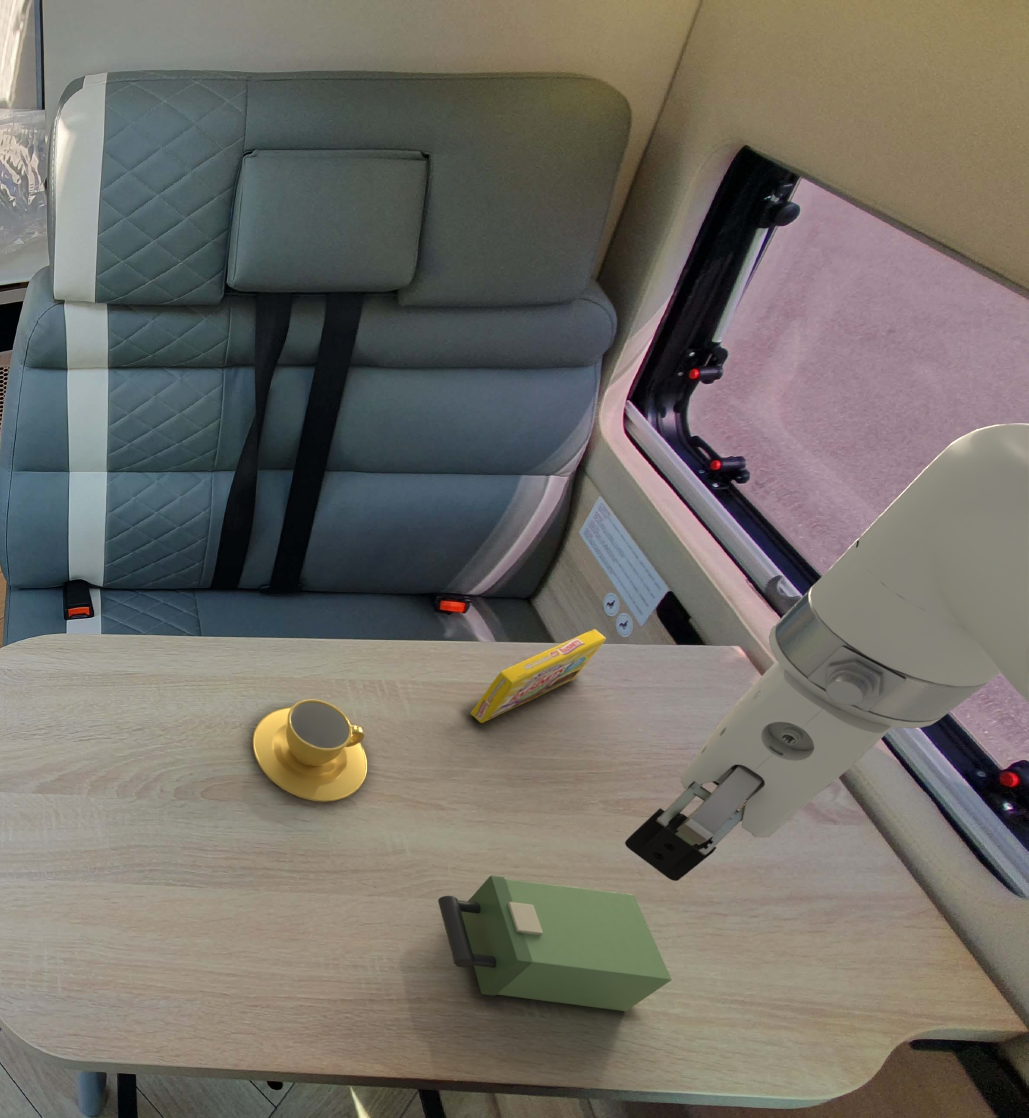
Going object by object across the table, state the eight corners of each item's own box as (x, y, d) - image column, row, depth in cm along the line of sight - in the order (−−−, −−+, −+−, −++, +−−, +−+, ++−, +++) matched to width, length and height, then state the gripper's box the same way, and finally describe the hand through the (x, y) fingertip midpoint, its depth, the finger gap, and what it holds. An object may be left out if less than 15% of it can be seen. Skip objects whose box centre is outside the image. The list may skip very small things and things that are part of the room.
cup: (265, 803, 82) (276, 774, 79) (242, 709, 91) (251, 678, 88) (381, 803, 83) (397, 774, 79) (346, 709, 92) (360, 679, 88)
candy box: (483, 727, 90) (512, 682, 85) (468, 714, 91) (496, 669, 86) (575, 682, 95) (608, 637, 90) (560, 670, 96) (592, 625, 91)
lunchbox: (676, 979, 63) (476, 953, 64) (625, 1013, 68) (441, 989, 69) (636, 890, 69) (452, 868, 70) (592, 928, 74) (421, 906, 75)
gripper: (907, 792, 36) (686, 946, 47) (1010, 623, 43) (798, 791, 55) (723, 683, 40) (562, 848, 52) (845, 546, 48) (681, 717, 59)
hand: (684, 819), depth 53 cm, fingers open, 9 cm apart
